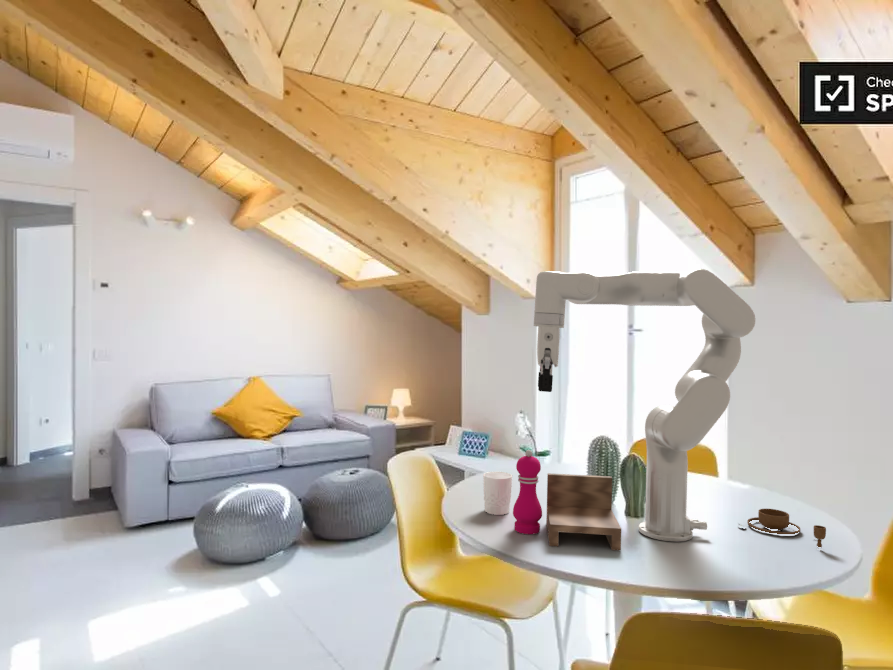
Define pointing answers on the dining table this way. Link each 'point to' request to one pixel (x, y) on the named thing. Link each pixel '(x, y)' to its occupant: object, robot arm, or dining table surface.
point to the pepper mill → (527, 496)
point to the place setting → (782, 523)
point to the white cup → (497, 492)
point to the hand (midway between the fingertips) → (544, 389)
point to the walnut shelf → (581, 507)
